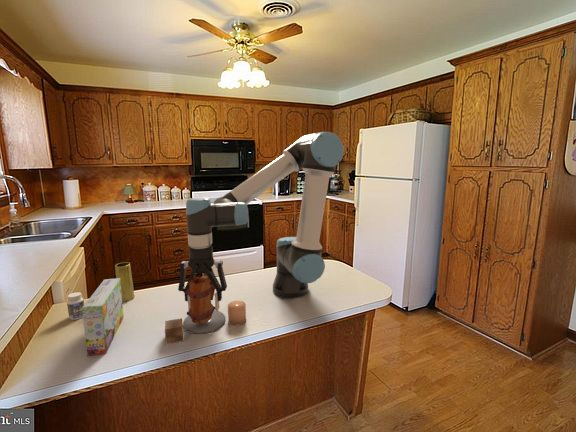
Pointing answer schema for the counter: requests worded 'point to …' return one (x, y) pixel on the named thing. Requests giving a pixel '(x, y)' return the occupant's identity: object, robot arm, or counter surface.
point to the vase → (125, 280)
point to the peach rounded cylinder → (236, 312)
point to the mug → (201, 299)
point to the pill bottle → (75, 305)
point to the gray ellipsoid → (205, 324)
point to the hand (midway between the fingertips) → (204, 309)
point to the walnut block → (174, 331)
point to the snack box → (102, 316)
